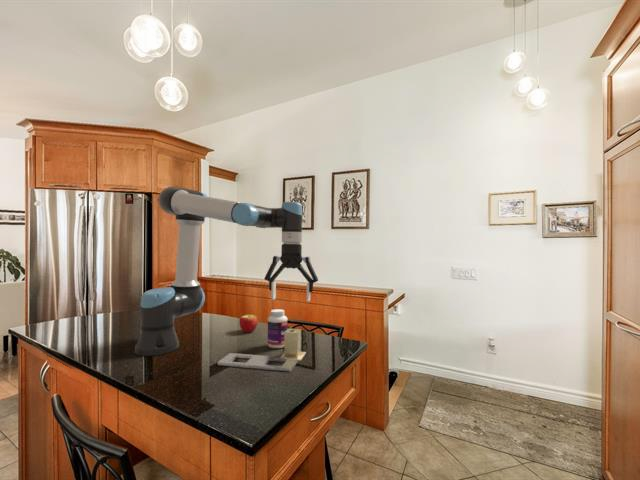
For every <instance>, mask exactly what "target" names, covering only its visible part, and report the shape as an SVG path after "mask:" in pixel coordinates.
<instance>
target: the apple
mask: <svg viewBox="0 0 640 480" xmlns="http://www.w3.org/2000/svg"><path fill="white" fill-rule="evenodd" d="M251 311H252V310H250V311H249V313H248V314H245V315H242V316H240V318H239V322H238V323H239V326H240V329H241V330H242V331H243V332H244V333H252V332H254V331H255V330H256V328H257V327H258V323H259V322H258V321H259V319H258V317H257V315H254V314H251Z"/></svg>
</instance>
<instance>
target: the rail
mask: <svg viewBox="0 0 640 480" xmlns="http://www.w3.org/2000/svg"><path fill="white" fill-rule="evenodd" d="M237 359H245V360H246V359H247V361H246V362H242V361H240V362H238V361H236V360H237ZM271 361H272V362H273V361H274V362H283V364H282V365H273V364H269V363H270V362H271ZM298 362H299V361H298V358H286V357H281V356H271V355H257V354H247V353H246V354H245V353H234V352H230V353H228V354H226V355H225V356H224V357H223V358H222V359H220V360H219V361H217V366H223V367H235V368H246V369H255V370H256V369H258V370H266V371H267V370H269V371H281V372H290V373H291V371H293V369H294V367H295V366H296V365H297V363H298Z"/></svg>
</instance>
